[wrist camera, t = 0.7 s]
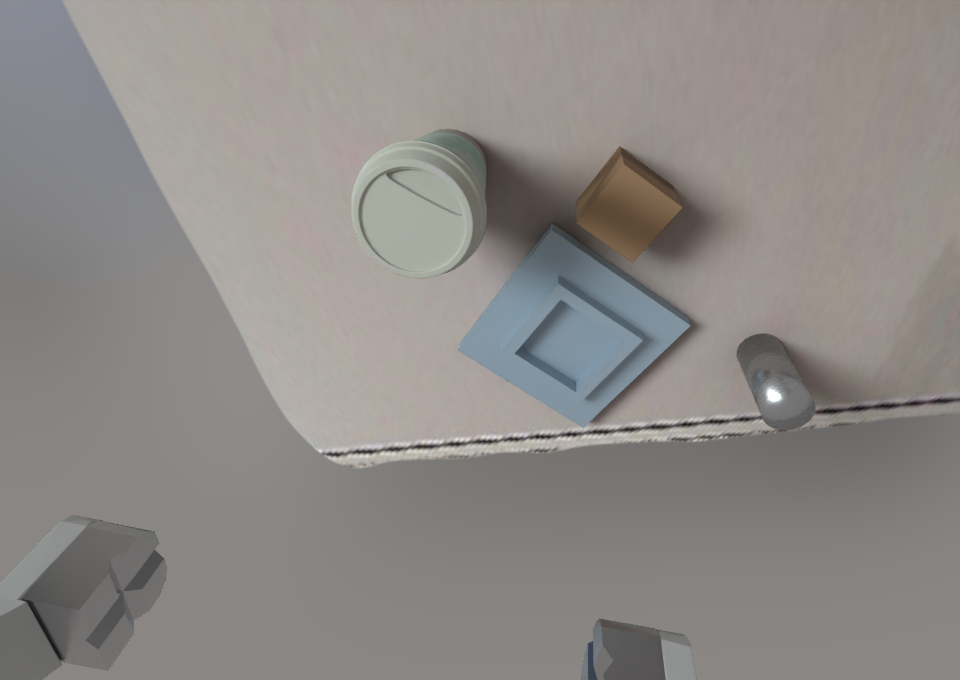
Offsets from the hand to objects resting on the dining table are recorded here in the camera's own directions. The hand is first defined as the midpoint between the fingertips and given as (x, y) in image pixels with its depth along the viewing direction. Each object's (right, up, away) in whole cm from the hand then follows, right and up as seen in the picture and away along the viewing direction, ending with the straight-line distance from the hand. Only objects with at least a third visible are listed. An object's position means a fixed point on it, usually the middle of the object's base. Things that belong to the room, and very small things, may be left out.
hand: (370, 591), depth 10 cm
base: (+10, +5, +40) cm, 41 cm away
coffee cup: (0, +18, +34) cm, 38 cm away
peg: (+26, +4, +38) cm, 46 cm away
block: (+13, +16, +33) cm, 39 cm away
